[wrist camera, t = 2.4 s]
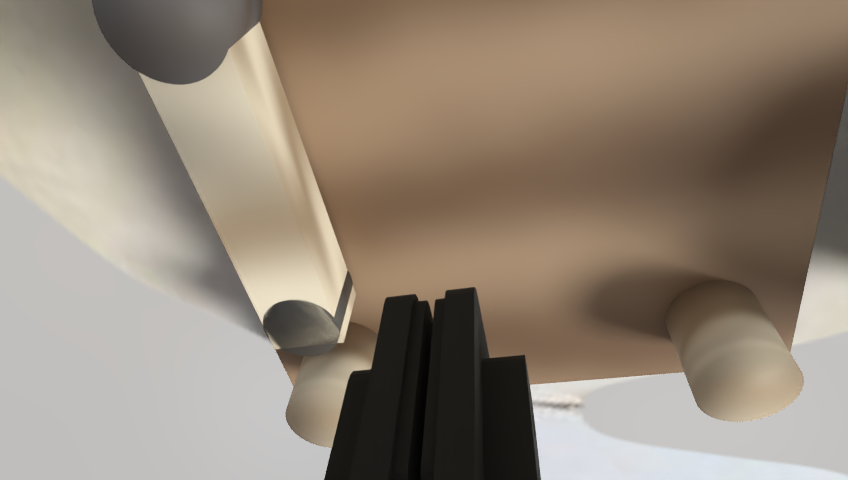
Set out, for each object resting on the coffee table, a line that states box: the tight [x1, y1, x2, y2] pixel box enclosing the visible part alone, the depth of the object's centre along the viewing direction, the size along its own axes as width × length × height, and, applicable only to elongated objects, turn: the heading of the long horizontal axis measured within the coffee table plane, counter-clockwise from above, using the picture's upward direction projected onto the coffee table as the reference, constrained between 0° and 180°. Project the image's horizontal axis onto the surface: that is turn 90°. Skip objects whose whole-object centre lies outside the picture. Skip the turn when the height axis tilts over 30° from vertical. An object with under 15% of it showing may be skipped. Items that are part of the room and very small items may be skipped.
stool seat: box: [260, 0, 848, 448], centre depth 18 cm, size 20×20×6 cm
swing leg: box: [92, 0, 356, 356], centre depth 17 cm, size 13×3×3 cm, turn 12°
